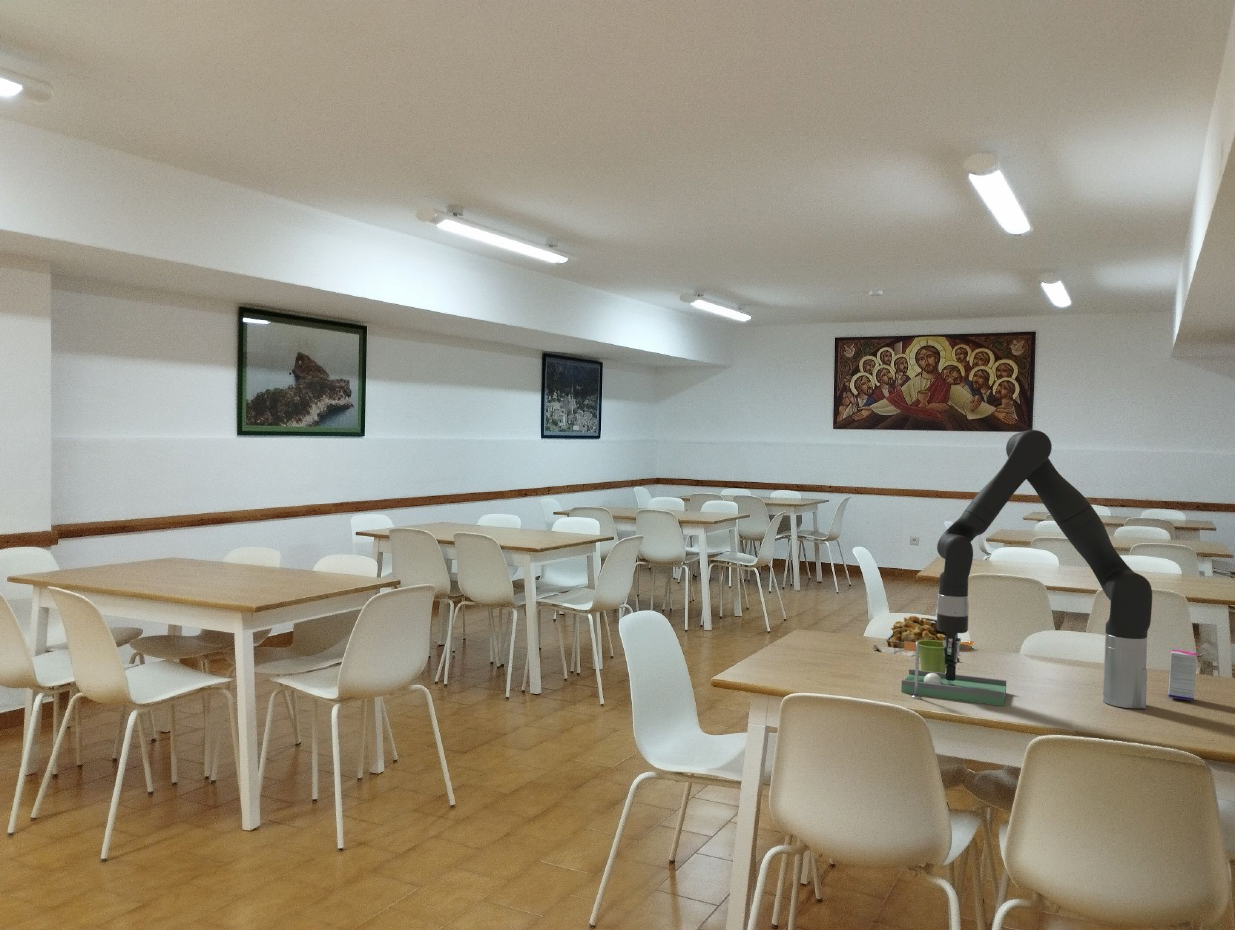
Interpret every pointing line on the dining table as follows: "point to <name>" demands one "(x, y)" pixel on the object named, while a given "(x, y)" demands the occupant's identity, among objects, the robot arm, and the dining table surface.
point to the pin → (915, 647)
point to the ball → (932, 678)
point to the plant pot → (932, 656)
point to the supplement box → (1182, 674)
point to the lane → (958, 688)
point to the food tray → (914, 635)
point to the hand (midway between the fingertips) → (950, 679)
